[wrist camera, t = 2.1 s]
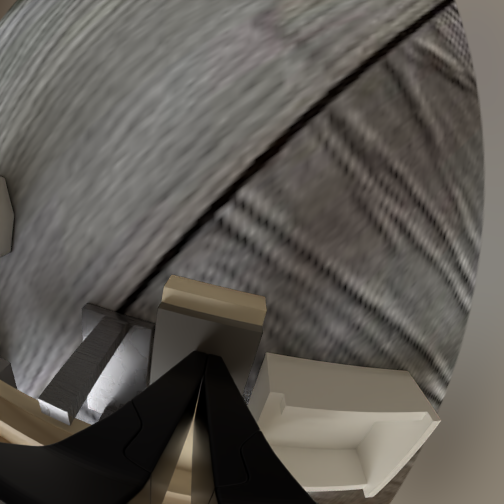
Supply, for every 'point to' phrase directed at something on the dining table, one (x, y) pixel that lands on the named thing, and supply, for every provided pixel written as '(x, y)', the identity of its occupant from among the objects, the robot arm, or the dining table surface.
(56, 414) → the stand
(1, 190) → the flask
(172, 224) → the dining table surface
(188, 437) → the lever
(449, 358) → the dining table surface
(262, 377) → the white open box
